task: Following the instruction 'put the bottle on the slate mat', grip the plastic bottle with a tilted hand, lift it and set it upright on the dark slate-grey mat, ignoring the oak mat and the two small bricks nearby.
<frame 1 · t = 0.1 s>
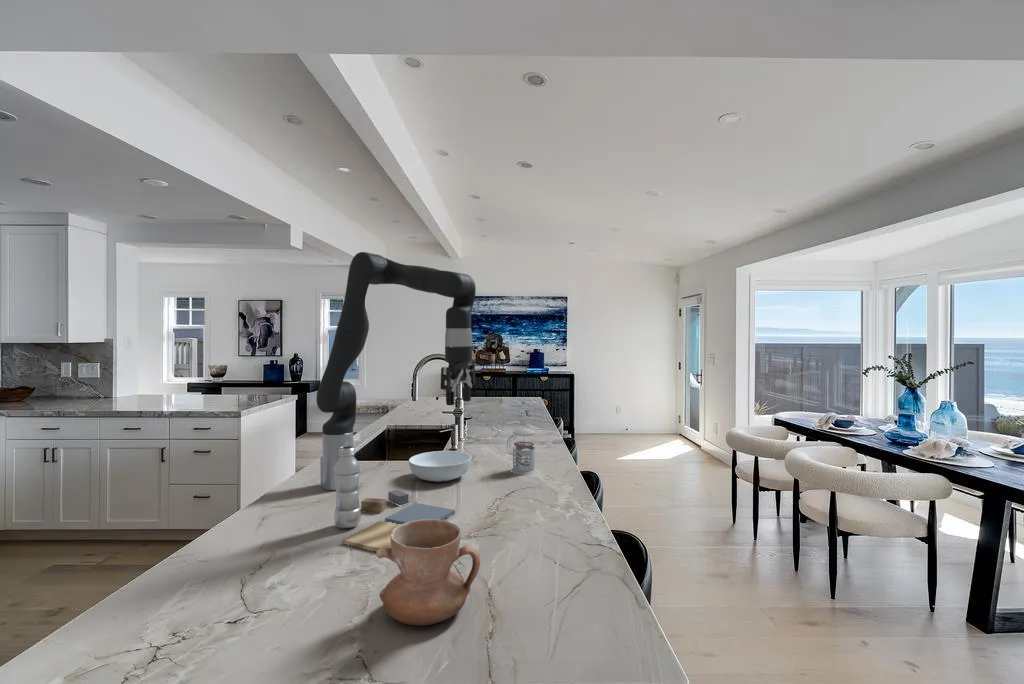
hand: (458, 403, 141), 29 cm above the countertop, tool pointing down, fingers open, 8 cm apart
french press: (521, 471, 179), on the countertop
slate mat: (420, 517, 133), on the countertop
ceramic jug: (429, 612, 89), on the countertop
charcoal brick: (398, 503, 145), on the countertop
serving bowl: (440, 478, 170), on the countertop
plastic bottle: (347, 527, 127), on the countertop
oak mat: (383, 538, 120), on the countertop
walnut brick: (373, 511, 139), on the countertop
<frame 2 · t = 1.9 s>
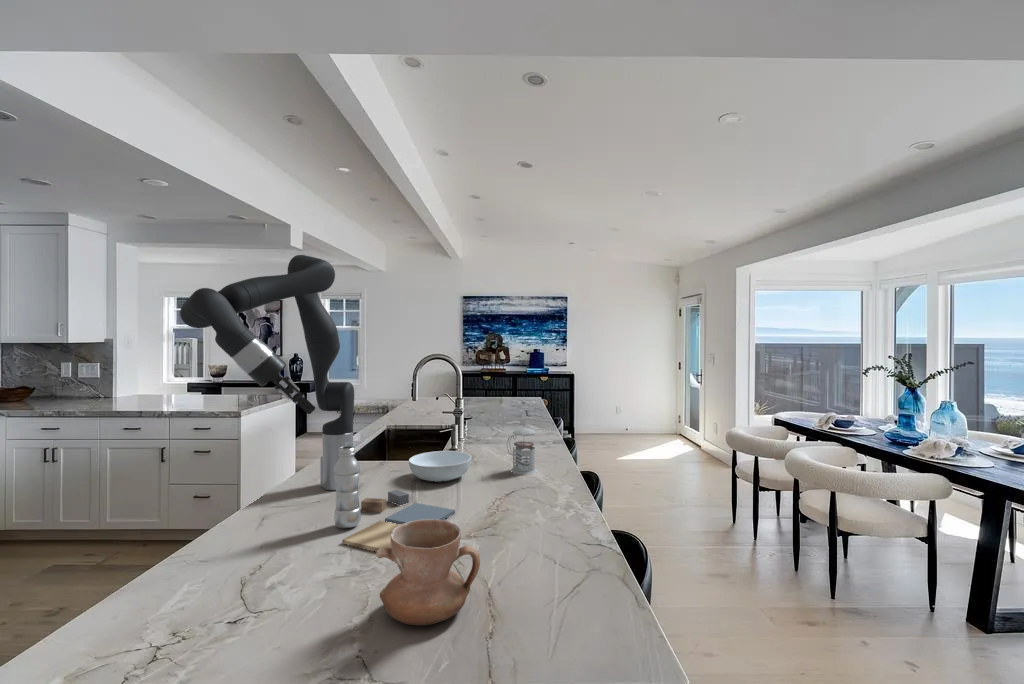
hand: (310, 409, 123), 30 cm above the countertop, tool tilted 40°, fingers open, 8 cm apart
nothing on the countertop moved.
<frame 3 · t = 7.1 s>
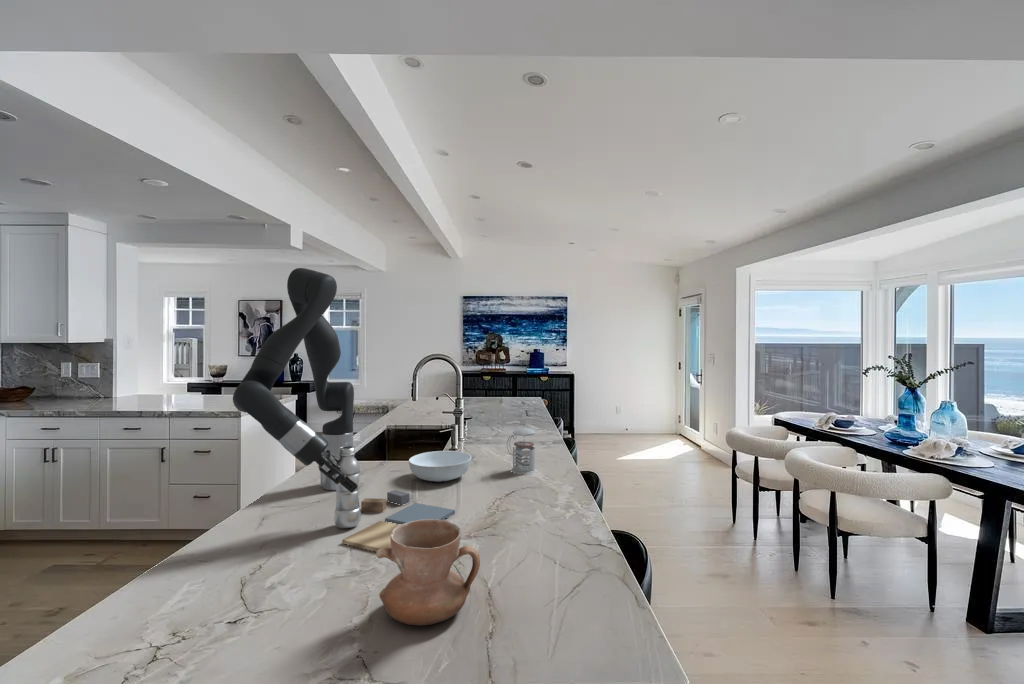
hand: (354, 485, 128), 10 cm above the countertop, tool tilted 45°, fingers closed on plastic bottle, 6 cm apart
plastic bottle: (347, 527, 127), on the countertop, touching gripper
everything else where it was.
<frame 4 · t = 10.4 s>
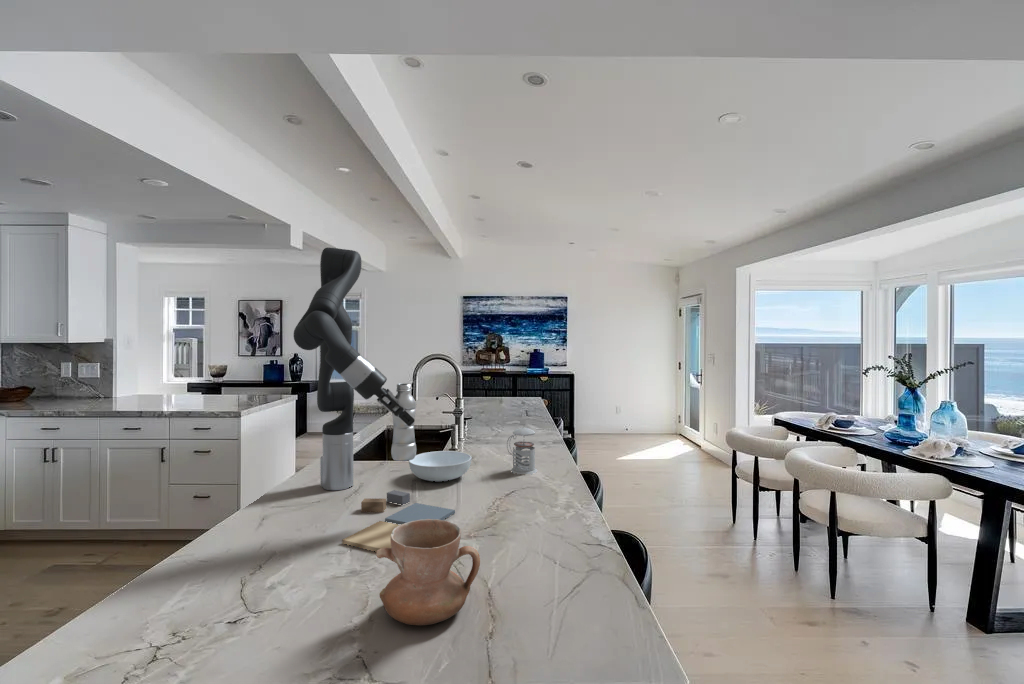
hand: (410, 420, 132), 26 cm above the countertop, tool tilted 45°, fingers closed on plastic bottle, 6 cm apart
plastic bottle: (403, 461, 131), point 15 cm above the countertop, touching gripper
everything else where it was.
when the fingers open (13 cm above the countertop, at t = 13.9 s): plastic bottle drops 1 cm, resting on slate mat.
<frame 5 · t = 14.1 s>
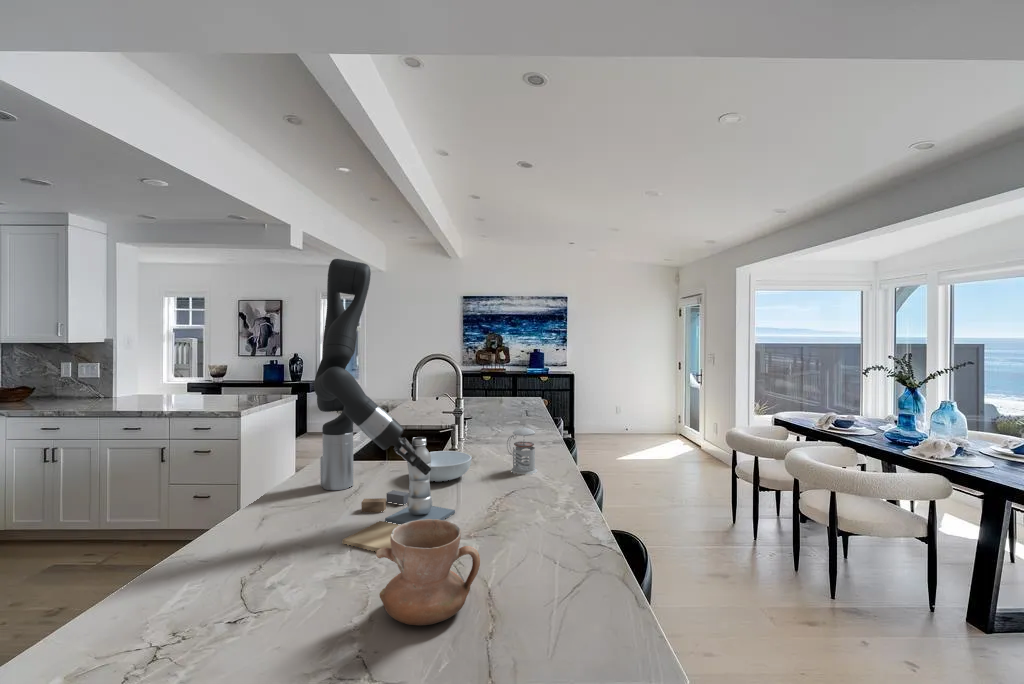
hand: (425, 468, 134), 13 cm above the countertop, tool tilted 45°, fingers open, 8 cm apart
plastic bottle: (419, 514, 133), point 1 cm above the countertop, touching slate mat
everything else where it was.
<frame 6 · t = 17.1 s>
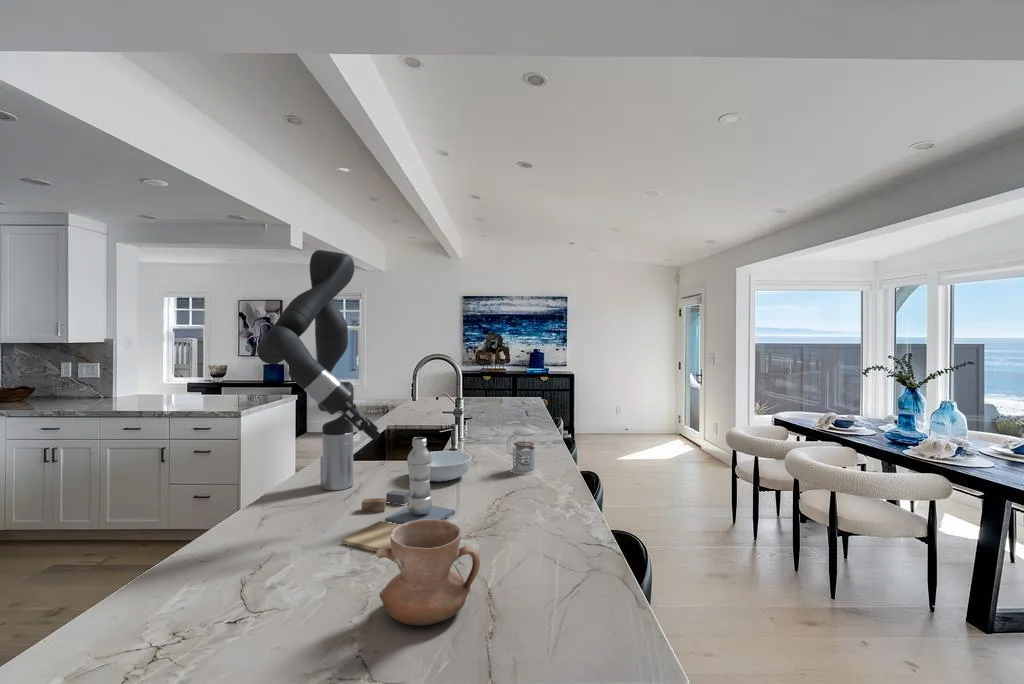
hand: (376, 434, 129), 23 cm above the countertop, tool tilted 45°, fingers open, 8 cm apart
nothing on the countertop moved.
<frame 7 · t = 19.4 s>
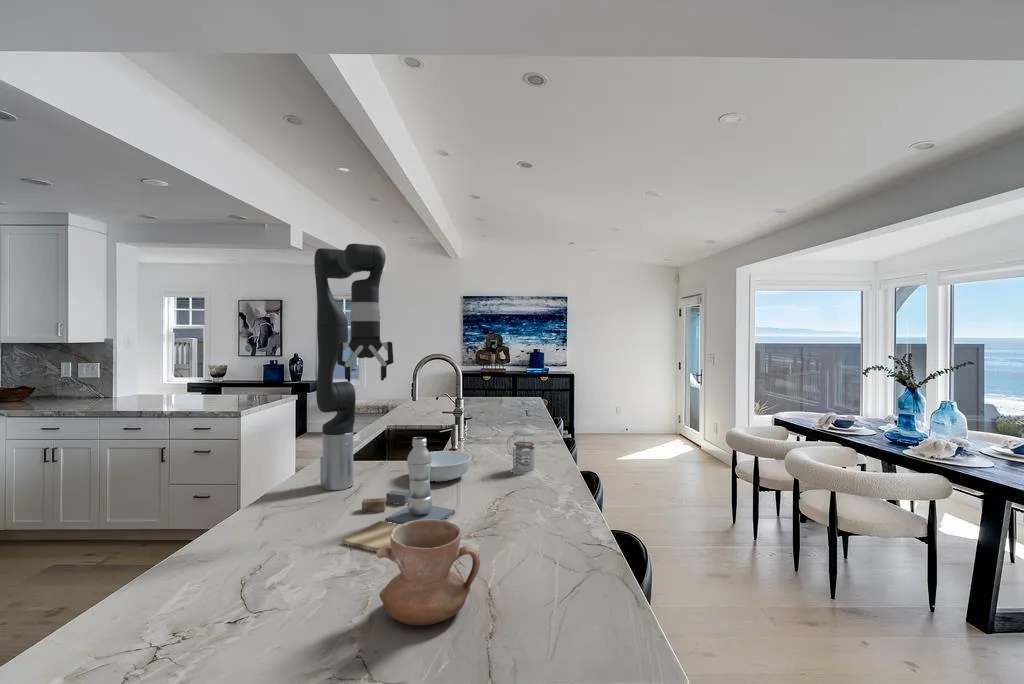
hand: (365, 380, 134), 36 cm above the countertop, tool pointing down, fingers open, 8 cm apart
nothing on the countertop moved.
at the end: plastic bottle inside the target area on the slate mat (0.3 cm from its centre), point 0.8 cm above the slate mat's base; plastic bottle tilted 0°; the gripper is holding nothing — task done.
